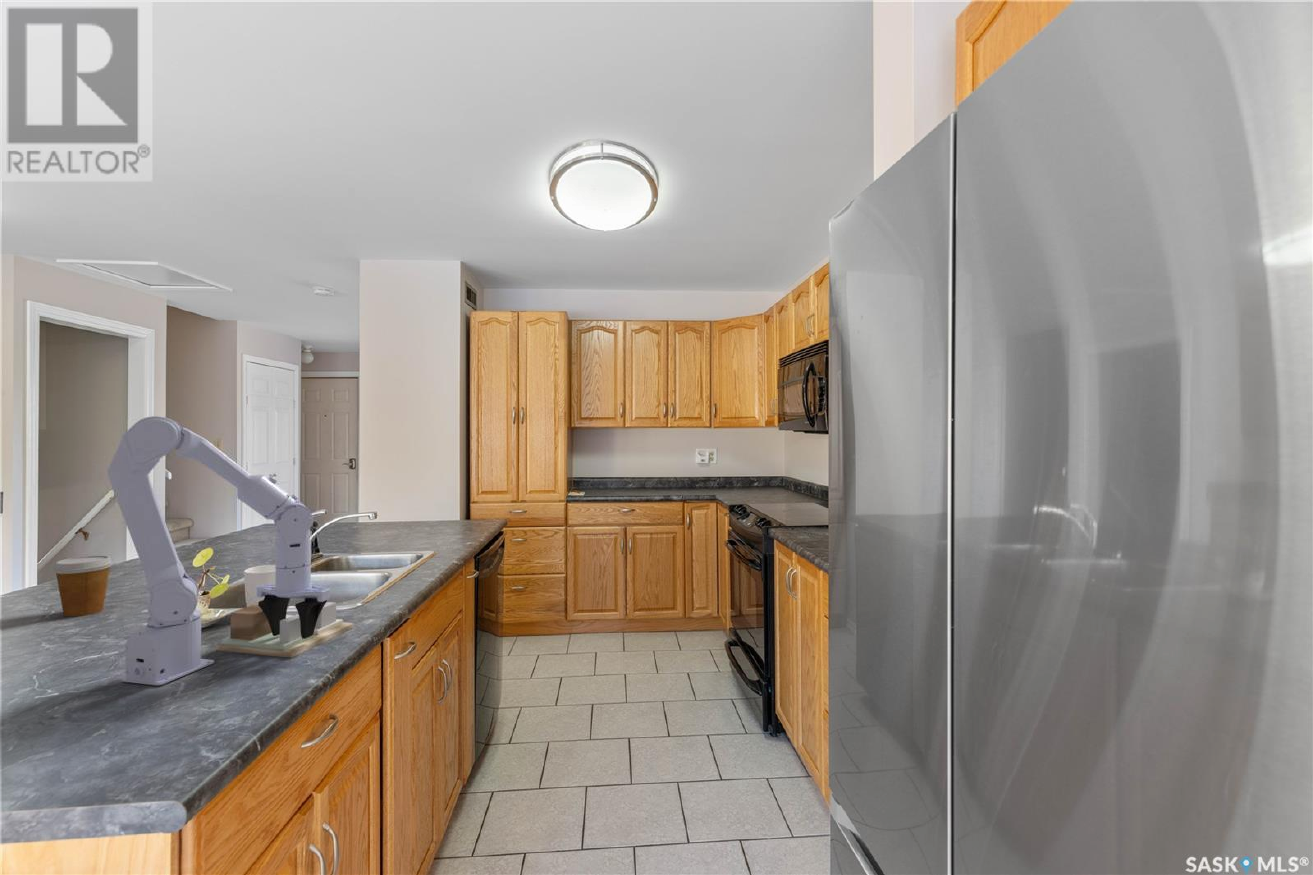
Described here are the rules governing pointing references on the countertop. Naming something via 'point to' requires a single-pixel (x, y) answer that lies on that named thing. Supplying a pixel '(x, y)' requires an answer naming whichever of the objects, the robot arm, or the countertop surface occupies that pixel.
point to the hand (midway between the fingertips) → (292, 635)
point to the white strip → (320, 630)
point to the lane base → (294, 649)
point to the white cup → (257, 582)
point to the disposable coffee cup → (82, 584)
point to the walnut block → (249, 623)
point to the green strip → (285, 640)
